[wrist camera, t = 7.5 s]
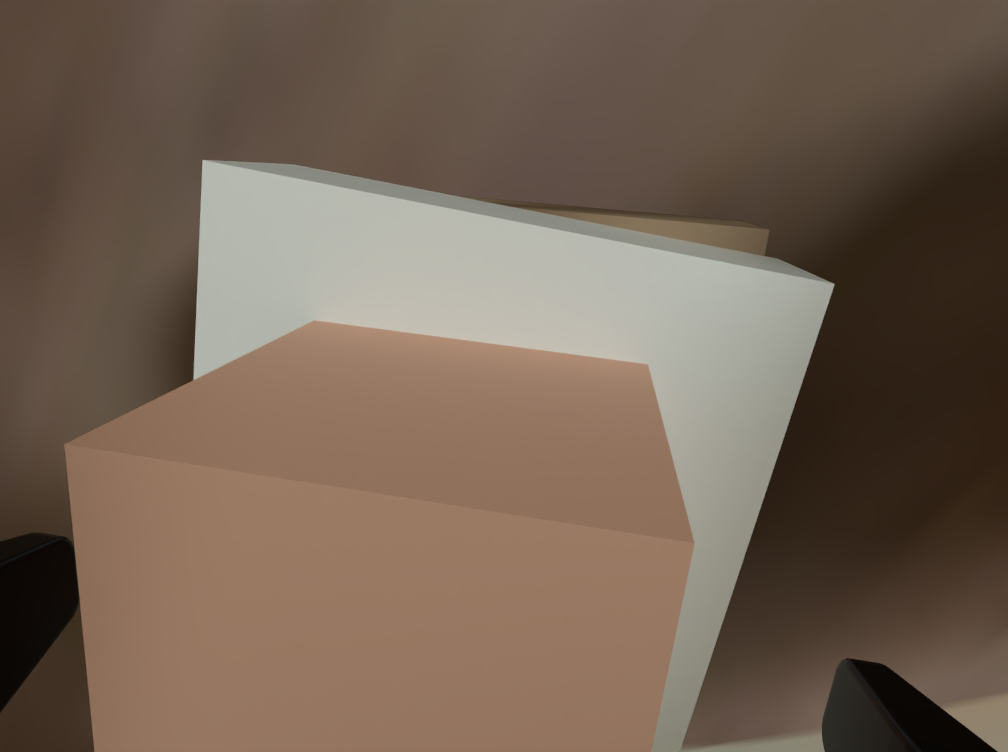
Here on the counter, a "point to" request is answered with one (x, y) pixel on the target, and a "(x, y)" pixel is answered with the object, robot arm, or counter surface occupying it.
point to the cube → (382, 552)
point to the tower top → (535, 329)
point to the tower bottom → (661, 225)
